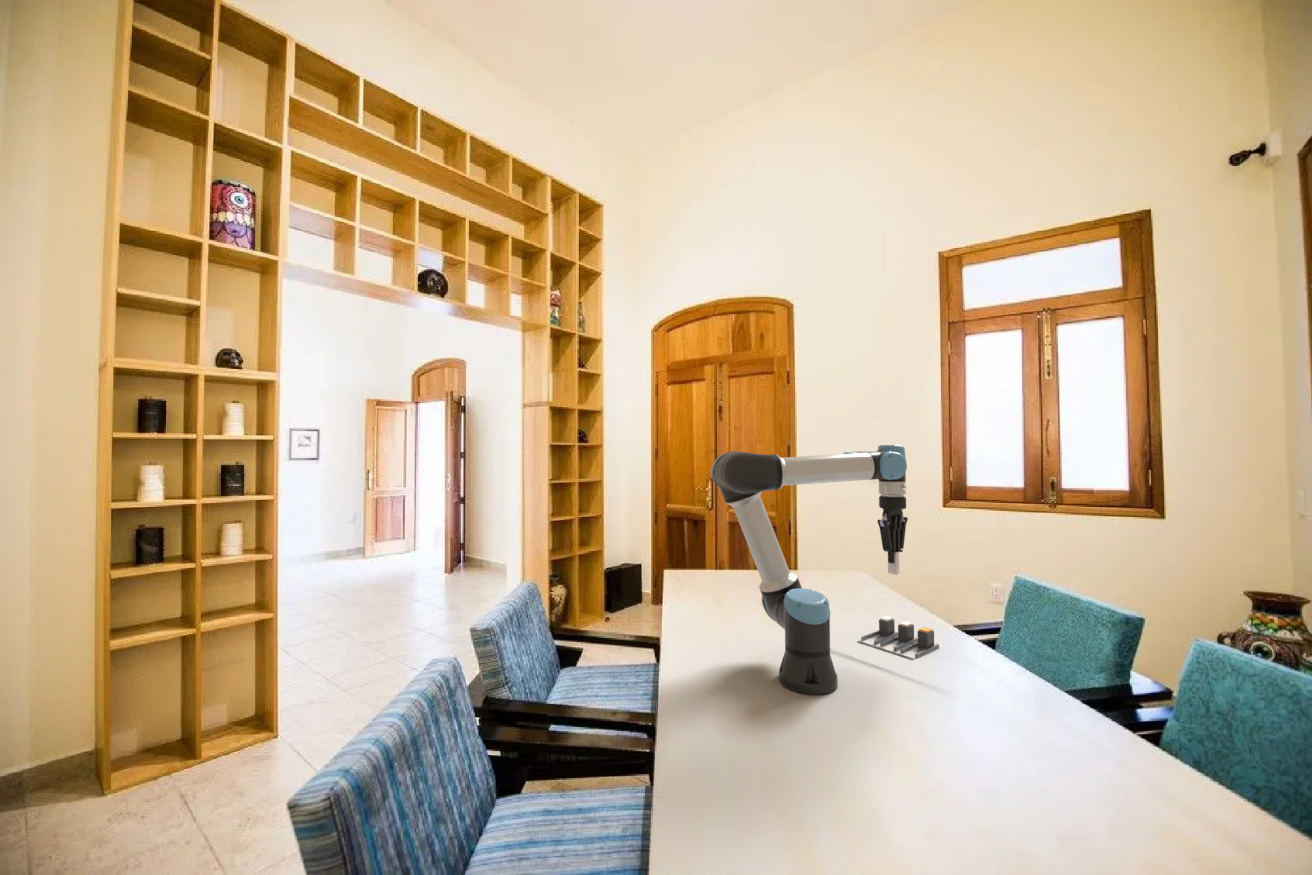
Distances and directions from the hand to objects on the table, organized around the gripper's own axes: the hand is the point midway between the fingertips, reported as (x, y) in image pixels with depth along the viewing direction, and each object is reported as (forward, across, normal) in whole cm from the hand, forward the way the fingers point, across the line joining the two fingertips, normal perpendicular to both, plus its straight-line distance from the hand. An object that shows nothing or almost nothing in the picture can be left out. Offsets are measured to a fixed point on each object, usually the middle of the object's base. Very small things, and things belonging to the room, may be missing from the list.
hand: (893, 573), depth 159 cm
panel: (+24, +6, +2) cm, 25 cm away
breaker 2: (+23, +10, +2) cm, 25 cm away
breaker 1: (+23, +10, +9) cm, 27 cm away
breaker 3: (+23, +10, -4) cm, 25 cm away
